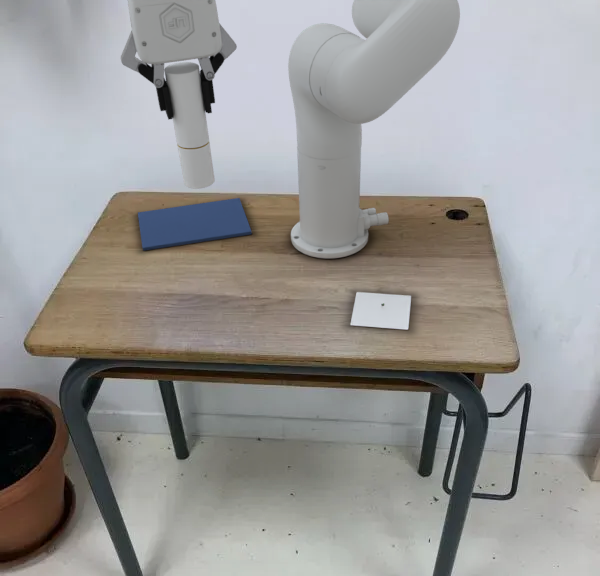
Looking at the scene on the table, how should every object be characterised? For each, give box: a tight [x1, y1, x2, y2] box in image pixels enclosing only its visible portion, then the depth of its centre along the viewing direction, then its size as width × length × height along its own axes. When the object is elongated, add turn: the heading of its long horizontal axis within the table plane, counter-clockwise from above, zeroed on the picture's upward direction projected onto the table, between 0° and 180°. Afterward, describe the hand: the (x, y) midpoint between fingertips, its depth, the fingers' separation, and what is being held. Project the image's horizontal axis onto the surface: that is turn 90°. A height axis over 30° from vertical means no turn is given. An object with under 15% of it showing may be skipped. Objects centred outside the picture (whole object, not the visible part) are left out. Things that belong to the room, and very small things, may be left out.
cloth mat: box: [137, 197, 253, 251], centre depth 118 cm, size 18×12×1 cm, turn 103°
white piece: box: [350, 291, 412, 331], centre depth 98 cm, size 8×8×1 cm
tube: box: [164, 61, 216, 190], centre depth 91 cm, size 4×4×15 cm
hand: (188, 110), depth 89 cm, fingers closed on tube, 4 cm apart
